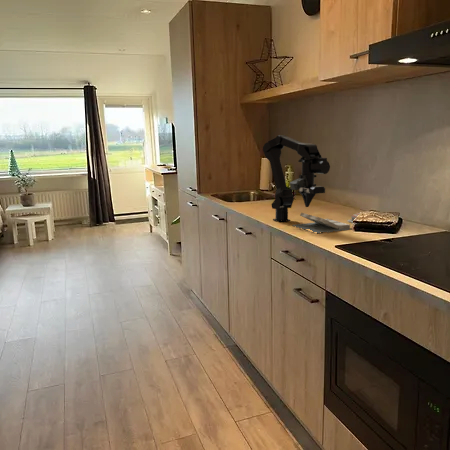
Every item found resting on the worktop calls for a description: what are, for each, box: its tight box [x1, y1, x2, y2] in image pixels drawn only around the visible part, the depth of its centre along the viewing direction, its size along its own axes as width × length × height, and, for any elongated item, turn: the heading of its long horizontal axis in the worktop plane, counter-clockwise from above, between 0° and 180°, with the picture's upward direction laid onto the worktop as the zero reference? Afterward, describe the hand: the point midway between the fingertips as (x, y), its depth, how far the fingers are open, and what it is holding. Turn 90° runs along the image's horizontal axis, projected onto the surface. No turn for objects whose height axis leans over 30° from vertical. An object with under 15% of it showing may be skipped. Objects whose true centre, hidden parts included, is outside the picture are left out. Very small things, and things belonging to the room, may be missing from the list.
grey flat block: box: [324, 218, 351, 229], centre depth 192 cm, size 16×6×2 cm, turn 24°
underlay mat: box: [291, 222, 353, 234], centre depth 189 cm, size 19×19×1 cm
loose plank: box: [299, 212, 339, 229], centre depth 188 cm, size 16×10×2 cm, turn 24°
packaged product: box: [346, 212, 361, 224], centre depth 194 cm, size 18×5×10 cm
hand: (306, 206), depth 190 cm, fingers closed
